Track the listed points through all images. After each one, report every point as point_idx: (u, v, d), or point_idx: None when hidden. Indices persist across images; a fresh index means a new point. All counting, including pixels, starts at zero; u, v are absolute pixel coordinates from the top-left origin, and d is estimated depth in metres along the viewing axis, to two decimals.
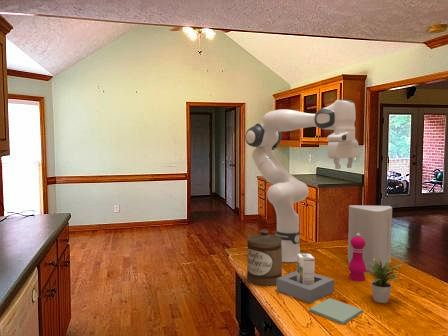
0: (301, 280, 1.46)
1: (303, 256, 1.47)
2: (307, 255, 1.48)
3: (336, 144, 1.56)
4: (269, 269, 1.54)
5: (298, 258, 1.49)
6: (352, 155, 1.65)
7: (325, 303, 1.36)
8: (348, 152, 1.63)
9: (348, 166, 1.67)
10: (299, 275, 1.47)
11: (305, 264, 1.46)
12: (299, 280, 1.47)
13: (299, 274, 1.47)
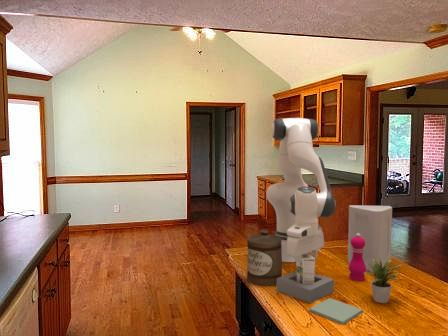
0: (301, 280, 1.46)
1: (303, 256, 1.47)
2: (307, 255, 1.48)
3: (295, 241, 1.40)
4: (269, 269, 1.54)
5: None
6: (315, 247, 1.49)
7: (325, 303, 1.36)
8: (311, 246, 1.47)
9: None
10: (299, 275, 1.47)
11: (305, 264, 1.46)
12: (299, 280, 1.47)
13: (299, 274, 1.47)
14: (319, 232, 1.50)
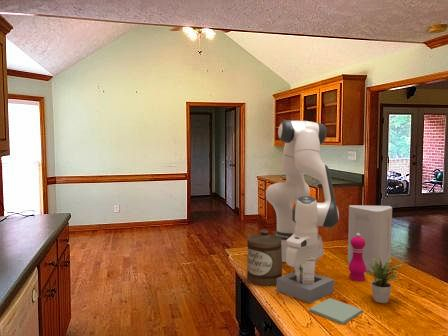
0: (301, 280, 1.46)
1: None
2: None
3: (295, 252, 1.40)
4: (269, 269, 1.54)
5: None
6: (314, 257, 1.49)
7: (325, 303, 1.36)
8: None
9: None
10: None
11: (305, 264, 1.46)
12: (299, 280, 1.47)
13: None
14: (319, 242, 1.51)
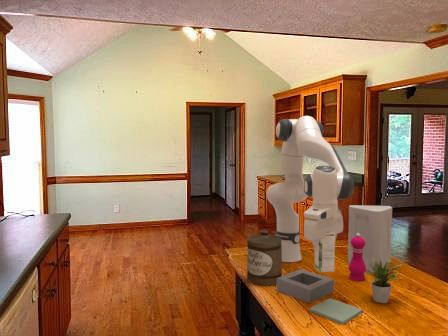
0: (321, 257, 1.34)
1: None
2: None
3: (314, 224, 1.28)
4: (269, 269, 1.54)
5: None
6: (334, 232, 1.37)
7: (325, 303, 1.36)
8: (330, 230, 1.35)
9: None
10: (318, 252, 1.35)
11: (324, 239, 1.33)
12: (318, 257, 1.35)
13: (318, 251, 1.35)
14: (338, 215, 1.39)
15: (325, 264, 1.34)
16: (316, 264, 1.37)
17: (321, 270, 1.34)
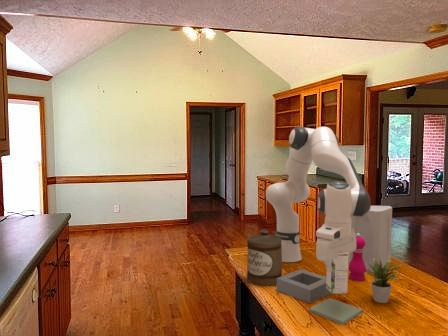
0: (333, 278, 1.27)
1: None
2: None
3: (327, 244, 1.22)
4: (269, 269, 1.54)
5: None
6: (347, 251, 1.31)
7: (325, 303, 1.36)
8: (343, 249, 1.29)
9: None
10: (330, 272, 1.28)
11: (337, 259, 1.27)
12: (330, 278, 1.28)
13: None
14: (351, 233, 1.32)
15: (338, 285, 1.28)
16: (328, 285, 1.31)
17: (334, 291, 1.28)
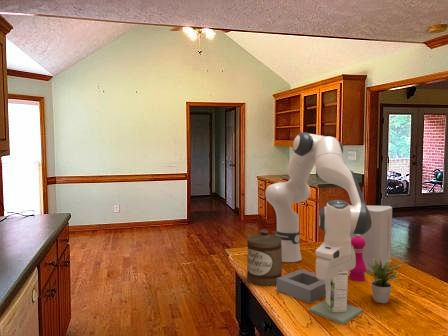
0: (333, 297, 1.28)
1: None
2: None
3: (326, 264, 1.22)
4: (269, 269, 1.54)
5: None
6: (347, 269, 1.31)
7: (325, 303, 1.36)
8: (342, 268, 1.29)
9: None
10: (330, 291, 1.29)
11: (337, 279, 1.28)
12: (330, 297, 1.29)
13: None
14: (351, 251, 1.33)
15: (337, 304, 1.28)
16: (327, 303, 1.31)
17: (333, 310, 1.28)
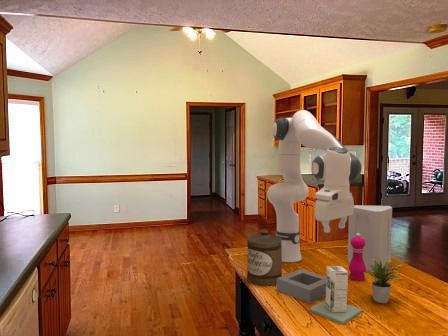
0: (333, 297, 1.28)
1: (334, 269, 1.29)
2: (339, 268, 1.30)
3: (325, 205, 1.28)
4: (269, 269, 1.54)
5: (328, 271, 1.31)
6: (345, 214, 1.37)
7: (325, 303, 1.36)
8: (340, 212, 1.35)
9: (340, 226, 1.39)
10: (330, 291, 1.29)
11: (337, 278, 1.28)
12: (330, 297, 1.29)
13: (330, 290, 1.29)
14: (349, 197, 1.39)
15: (337, 304, 1.28)
16: (327, 303, 1.31)
17: (333, 310, 1.28)
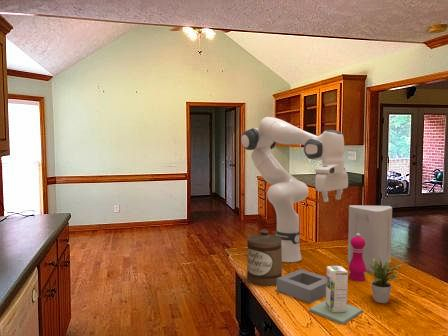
0: (333, 297, 1.28)
1: (334, 269, 1.29)
2: (339, 268, 1.30)
3: (324, 177, 1.52)
4: (269, 269, 1.54)
5: (328, 271, 1.31)
6: (340, 186, 1.61)
7: (325, 303, 1.36)
8: (337, 184, 1.59)
9: (337, 197, 1.63)
10: (330, 291, 1.29)
11: (337, 278, 1.28)
12: (330, 297, 1.29)
13: (330, 290, 1.29)
14: (344, 173, 1.63)
15: (337, 304, 1.28)
16: (327, 303, 1.31)
17: (333, 310, 1.28)
